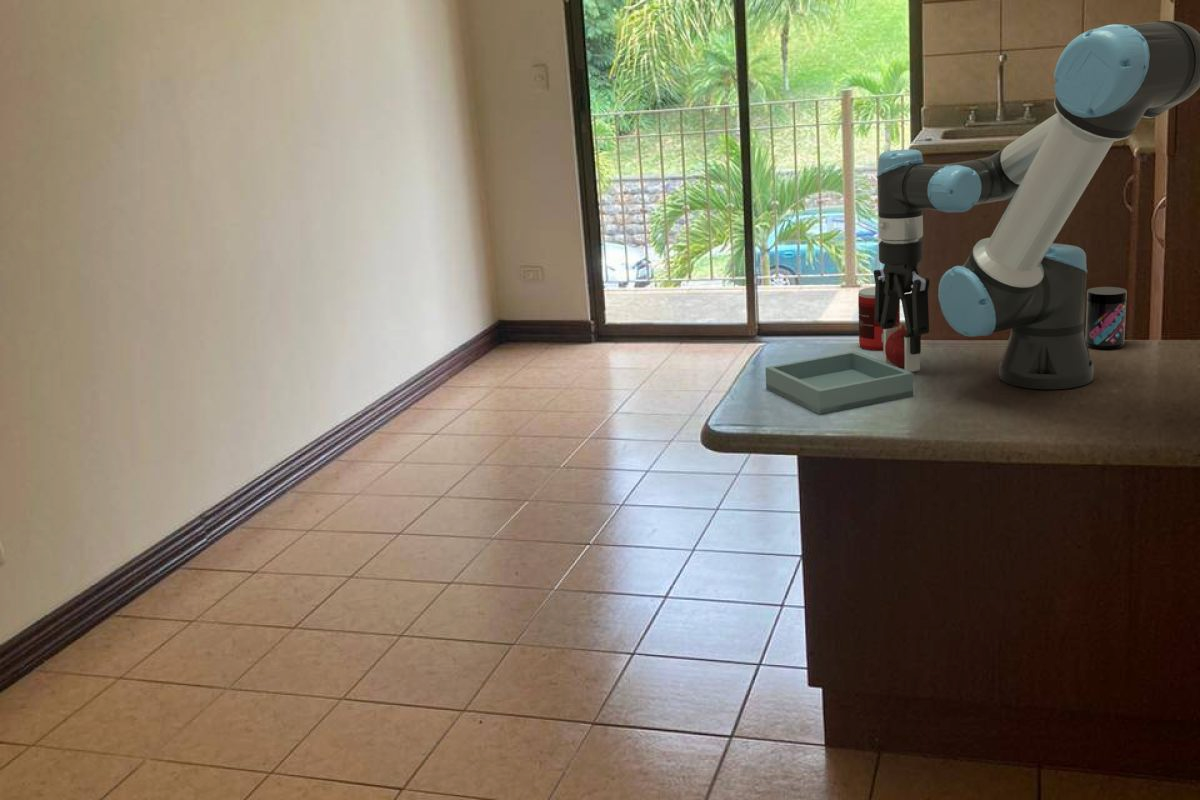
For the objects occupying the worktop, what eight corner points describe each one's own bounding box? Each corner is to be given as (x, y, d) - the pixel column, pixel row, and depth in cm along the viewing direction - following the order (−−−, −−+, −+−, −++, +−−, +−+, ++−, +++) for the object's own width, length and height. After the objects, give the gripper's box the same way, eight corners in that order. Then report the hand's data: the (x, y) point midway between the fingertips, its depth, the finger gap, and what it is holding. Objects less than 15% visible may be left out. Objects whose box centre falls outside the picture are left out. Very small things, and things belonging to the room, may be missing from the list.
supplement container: (1079, 348, 223) (1081, 293, 220) (1092, 339, 228) (1094, 285, 225) (1117, 352, 219) (1119, 295, 216) (1129, 343, 224) (1132, 288, 221)
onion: (918, 372, 216) (918, 328, 214) (885, 373, 217) (885, 329, 215) (917, 363, 221) (916, 321, 219) (884, 364, 222) (884, 322, 220)
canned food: (905, 342, 237) (905, 287, 234) (891, 352, 230) (891, 295, 227) (867, 339, 241) (867, 285, 238) (853, 349, 234) (852, 293, 231)
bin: (913, 396, 203) (913, 373, 202) (819, 414, 197) (819, 391, 196) (854, 372, 219) (853, 351, 218) (766, 389, 213) (765, 367, 212)
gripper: (852, 236, 220) (855, 359, 226) (914, 249, 203) (915, 382, 209) (887, 231, 222) (889, 353, 229) (951, 243, 205) (951, 374, 212)
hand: (901, 366), depth 219 cm, fingers closed on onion, 6 cm apart
